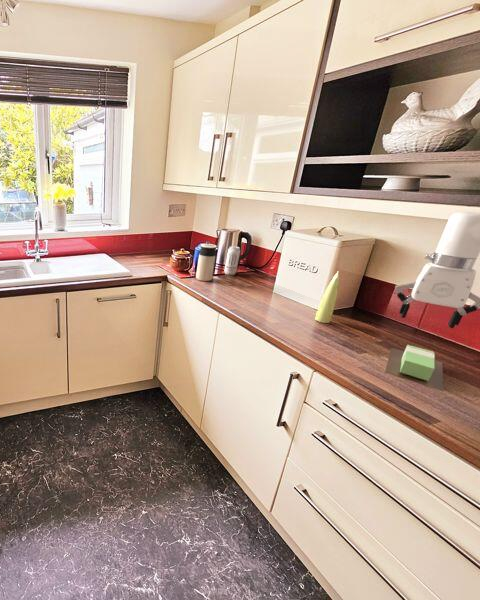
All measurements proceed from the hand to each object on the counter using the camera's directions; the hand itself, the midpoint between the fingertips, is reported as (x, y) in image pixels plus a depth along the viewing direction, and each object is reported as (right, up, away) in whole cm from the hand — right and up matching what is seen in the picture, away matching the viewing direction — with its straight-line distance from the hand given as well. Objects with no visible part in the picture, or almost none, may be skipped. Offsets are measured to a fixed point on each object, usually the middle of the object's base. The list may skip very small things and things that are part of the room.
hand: (425, 321), depth 93 cm
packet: (+3, -14, +6) cm, 16 cm away
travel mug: (-31, +17, +84) cm, 91 cm away
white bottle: (-13, +20, +92) cm, 96 cm away
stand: (+4, -15, +7) cm, 17 cm away
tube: (-2, -2, +38) cm, 38 cm away
